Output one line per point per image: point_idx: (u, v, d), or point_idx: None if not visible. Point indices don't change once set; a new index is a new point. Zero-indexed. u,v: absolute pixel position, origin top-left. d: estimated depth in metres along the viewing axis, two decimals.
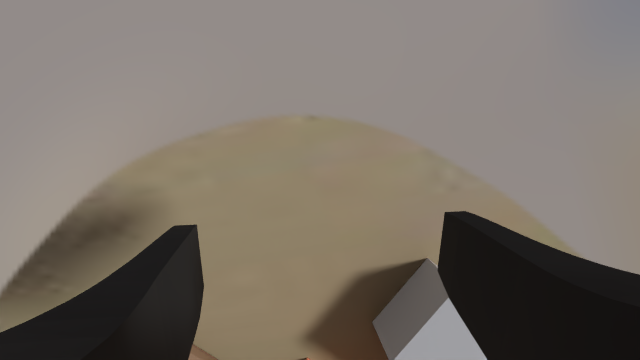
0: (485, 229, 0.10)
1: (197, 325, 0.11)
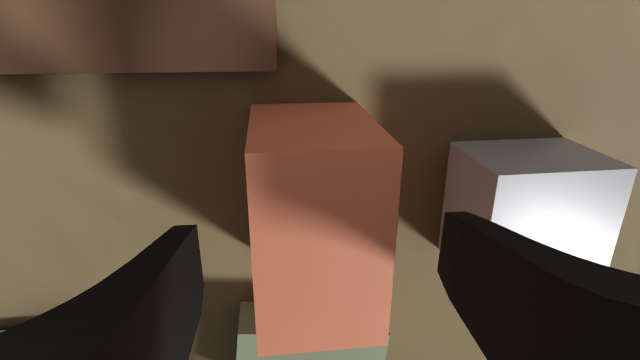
0: (485, 229, 0.10)
1: (197, 325, 0.11)
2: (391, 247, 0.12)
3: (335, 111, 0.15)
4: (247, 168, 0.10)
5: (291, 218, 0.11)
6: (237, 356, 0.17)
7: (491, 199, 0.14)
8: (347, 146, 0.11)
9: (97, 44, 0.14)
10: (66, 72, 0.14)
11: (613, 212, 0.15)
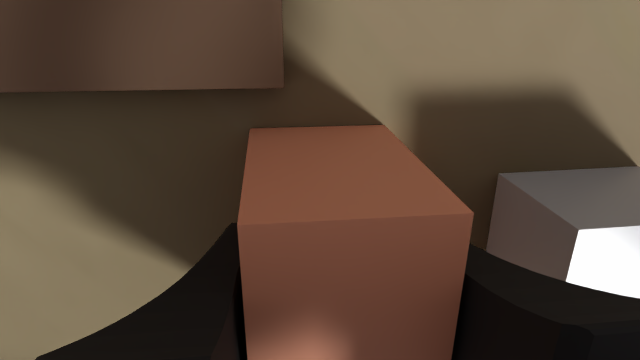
0: None
1: None
2: (447, 345, 0.08)
3: (360, 141, 0.11)
4: (241, 246, 0.07)
5: (306, 312, 0.08)
6: None
7: (566, 258, 0.11)
8: (389, 209, 0.07)
9: (44, 53, 0.10)
10: (4, 91, 0.11)
11: None
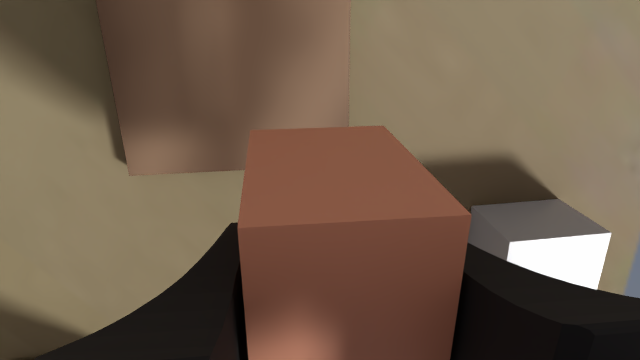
0: None
1: None
2: (446, 345, 0.08)
3: (360, 142, 0.11)
4: (242, 248, 0.07)
5: (306, 313, 0.08)
6: None
7: (505, 257, 0.20)
8: (388, 211, 0.08)
9: (223, 152, 0.19)
10: (199, 171, 0.20)
11: (594, 263, 0.20)
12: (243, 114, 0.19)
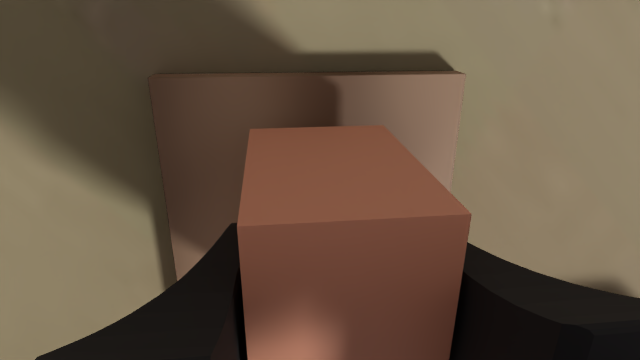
0: None
1: None
2: (445, 345, 0.08)
3: (359, 141, 0.11)
4: (241, 247, 0.07)
5: (305, 312, 0.08)
6: None
7: None
8: (387, 210, 0.08)
9: None
10: None
11: None
12: None
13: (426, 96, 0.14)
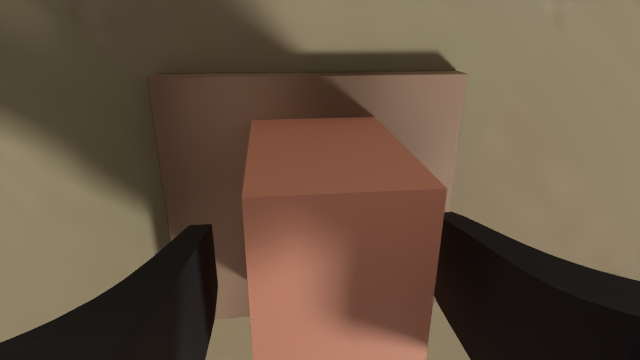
0: (469, 230, 0.10)
1: None
2: (427, 308, 0.09)
3: (352, 130, 0.12)
4: (245, 216, 0.08)
5: (301, 276, 0.09)
6: None
7: None
8: (374, 185, 0.09)
9: None
10: None
11: None
12: None
13: (427, 97, 0.14)
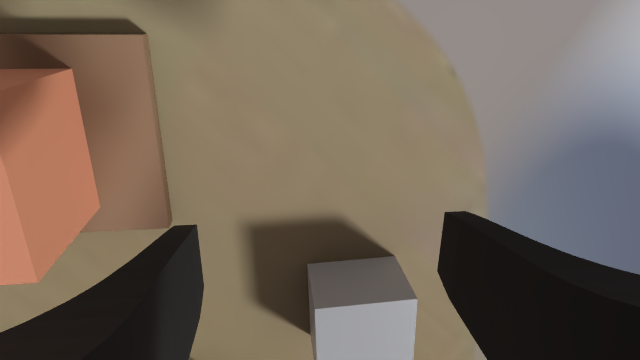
0: (485, 229, 0.10)
1: (197, 325, 0.11)
2: (6, 188, 0.13)
3: (24, 74, 0.16)
4: None
5: None
6: None
7: (315, 322, 0.21)
8: None
9: None
10: None
11: (406, 326, 0.21)
12: None
13: (113, 53, 0.18)
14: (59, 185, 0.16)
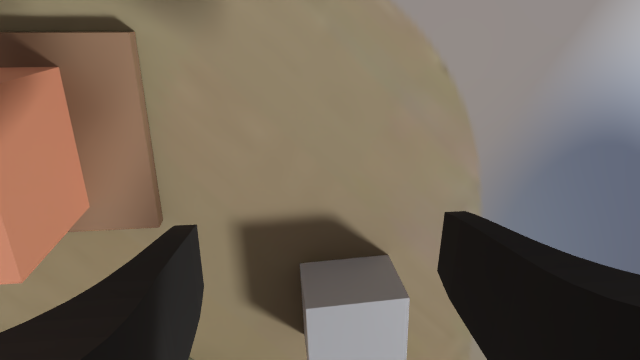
0: (485, 229, 0.10)
1: (197, 325, 0.11)
2: None
3: (9, 72, 0.16)
4: None
5: None
6: None
7: (306, 322, 0.20)
8: None
9: None
10: None
11: (399, 325, 0.21)
12: None
13: (100, 50, 0.17)
14: (46, 185, 0.16)
